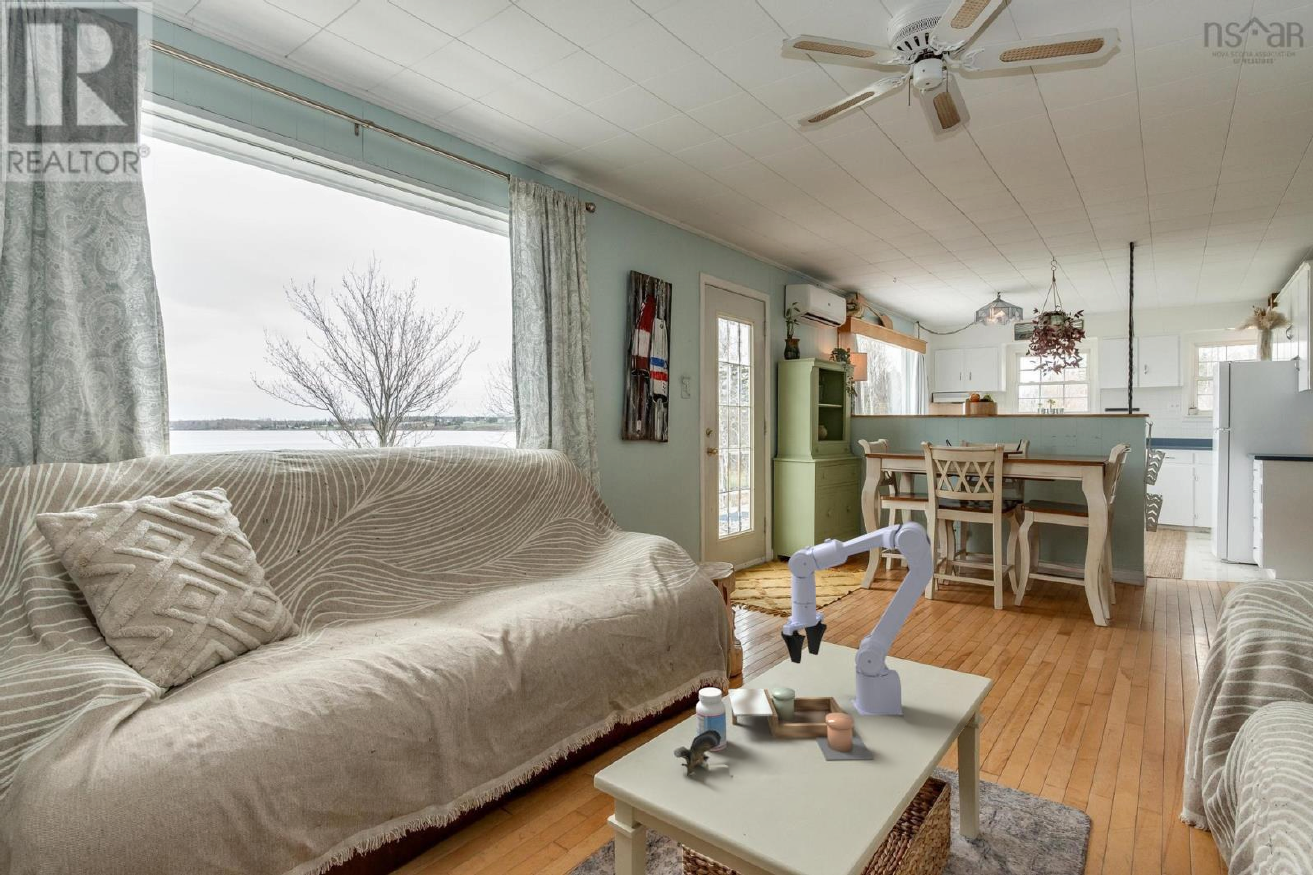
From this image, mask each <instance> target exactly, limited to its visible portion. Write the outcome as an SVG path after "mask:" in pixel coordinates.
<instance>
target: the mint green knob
mask: <svg viewBox="0 0 1313 875" xmlns="http://www.w3.org/2000/svg"><path fill="white" fill-rule="evenodd" d="M771 694H772V695H771V696H772V698H774V708H775V710H776V713H777V715H778V719H779V720H791V719H793V718H794V698H796V691H795V690H794V689H793V688H790V687H787V686H786V687H785V686H779V687H778V686H777V687H774V688H773V689H772V690H771Z"/></svg>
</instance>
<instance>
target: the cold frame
mask: <svg viewBox="0 0 1313 875" xmlns="http://www.w3.org/2000/svg"><path fill="white" fill-rule="evenodd" d="M727 693H728V696H729V700H730V704H731V720H732V722H731V723H732V725H738V717H760V716H761V717H763V716H764V717H766V721H767V723H768V726H769V729H770V732H771V735H772V738H773V739H781V738H782V739H785V738H786V739H787V738H788V739H791V738H793V739H794V738H795V739H797V738H815V737H828V735H827V724H826V715H828V714H830V713H844V712H843V710H842V709H841V707H840V706H839V704H838V702H837V700H836V699H835V697H833V696H819V697H816V696H813V697H812V696H811V697H808V696H807V697H795V698H794V718H793V719H791V720H779V719H778V715H777V713H776V710H775V708H774V697H771V696H770V693H769V690H768V689H764V688H729V689H727Z"/></svg>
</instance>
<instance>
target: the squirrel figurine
mask: <svg viewBox="0 0 1313 875" xmlns="http://www.w3.org/2000/svg"><path fill="white" fill-rule="evenodd" d="M720 741H721V736H720V734H719V733H718V732H716V731H714V730H713V731H712V730H708V731H705V732H704V733H702V734H700V735H699V736H697V735H696V737H694V738H693V740H692V743H691V746H690V748H689V749H688V748H686V747H685V746H680V747H678V748H676V749H674V750H673V755H674V757H676V758H683V759H684V760H685V761H686V762H685V763H681V766H682V767H685V768H686V770H687V772H686V777H689V776H690V775H691V774H692V773H693V771H694V768H695V766H696V765H698V766H701V767H702V768H704V769H706V770H707V771H709V770H710V769H709V766H708V765H709V764H708V763H707V762H706V761H705V759H704V758H709V756H708V755H706V754H705V753H706V752H710V751H709V750H711V749H712V748H715V747H717V746H718V745H719V744H720V743H719V742H720Z"/></svg>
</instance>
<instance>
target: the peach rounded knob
mask: <svg viewBox="0 0 1313 875" xmlns="http://www.w3.org/2000/svg"><path fill="white" fill-rule="evenodd" d="M854 721H855V720H854V717H852V716H851V715H849V714H847V713H844V712H843V713H830V714H828V715H826V724H827V735H828V747H829V748H830V749H832V750H835V751H839V752H847V751H850V750H851V749H852V748H853V744H852V737H853V727H854V724H855V722H854Z"/></svg>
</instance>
